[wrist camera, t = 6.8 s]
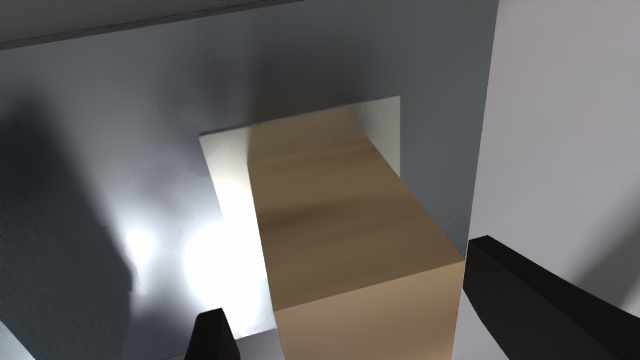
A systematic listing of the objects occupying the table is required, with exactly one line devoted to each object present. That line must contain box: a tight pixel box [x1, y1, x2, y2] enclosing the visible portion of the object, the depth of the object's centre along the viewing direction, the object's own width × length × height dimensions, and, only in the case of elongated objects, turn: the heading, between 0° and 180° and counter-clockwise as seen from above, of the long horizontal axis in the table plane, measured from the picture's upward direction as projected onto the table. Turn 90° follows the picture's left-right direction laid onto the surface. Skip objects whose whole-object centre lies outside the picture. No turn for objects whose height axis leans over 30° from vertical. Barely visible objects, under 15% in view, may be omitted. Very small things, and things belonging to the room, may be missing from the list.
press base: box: [0, 0, 499, 360], centre depth 13 cm, size 14×26×5 cm, turn 97°
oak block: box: [247, 139, 465, 360], centre depth 13 cm, size 4×4×6 cm
